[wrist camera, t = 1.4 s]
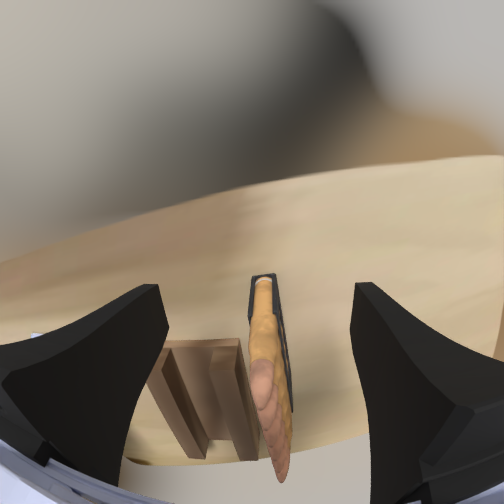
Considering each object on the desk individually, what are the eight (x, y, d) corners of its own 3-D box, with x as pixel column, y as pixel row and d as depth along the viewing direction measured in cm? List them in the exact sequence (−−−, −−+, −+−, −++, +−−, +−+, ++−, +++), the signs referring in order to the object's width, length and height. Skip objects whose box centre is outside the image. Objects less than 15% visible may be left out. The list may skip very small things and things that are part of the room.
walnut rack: (194, 432, 31) (188, 458, 27) (154, 340, 26) (139, 369, 22) (259, 433, 30) (258, 460, 26) (239, 338, 25) (234, 369, 21)
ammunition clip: (251, 275, 23) (235, 398, 11) (275, 272, 22) (278, 394, 11) (271, 375, 26) (269, 488, 15) (291, 373, 26) (296, 486, 15)
